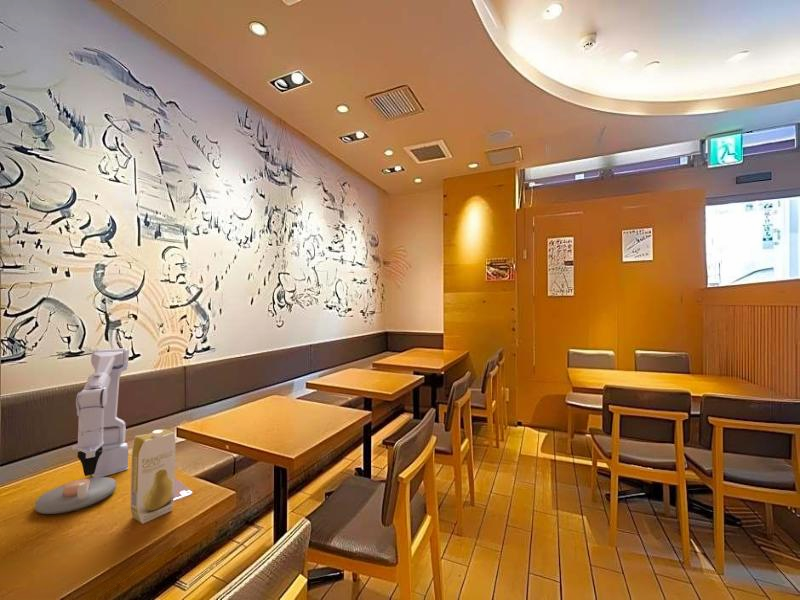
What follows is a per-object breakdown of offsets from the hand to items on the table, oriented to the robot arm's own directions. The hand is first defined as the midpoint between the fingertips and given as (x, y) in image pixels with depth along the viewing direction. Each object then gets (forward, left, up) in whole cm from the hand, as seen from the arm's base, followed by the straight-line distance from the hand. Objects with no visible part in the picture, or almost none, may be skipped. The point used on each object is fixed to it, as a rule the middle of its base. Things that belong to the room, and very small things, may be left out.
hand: (89, 474), depth 104 cm
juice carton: (-10, +21, -9) cm, 25 cm away
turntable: (+2, -5, -8) cm, 9 cm away
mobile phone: (-18, +11, -9) cm, 23 cm away
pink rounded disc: (+2, -5, -6) cm, 8 cm away
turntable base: (+2, -5, -9) cm, 10 cm away
